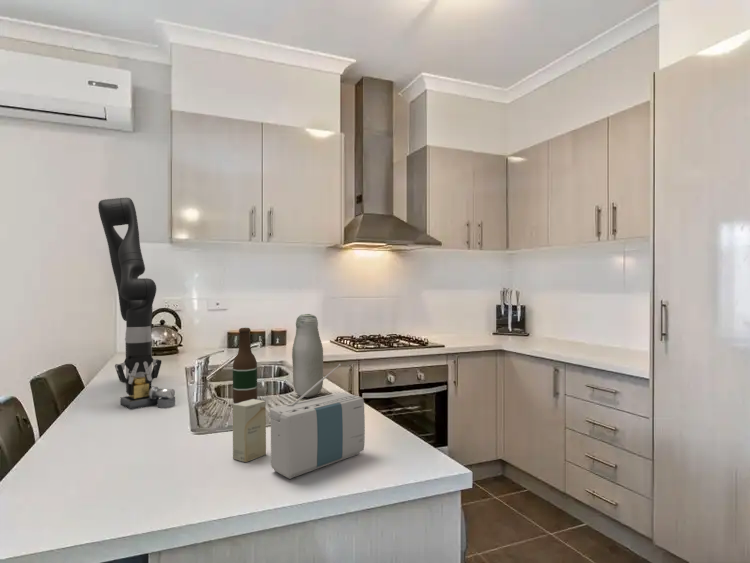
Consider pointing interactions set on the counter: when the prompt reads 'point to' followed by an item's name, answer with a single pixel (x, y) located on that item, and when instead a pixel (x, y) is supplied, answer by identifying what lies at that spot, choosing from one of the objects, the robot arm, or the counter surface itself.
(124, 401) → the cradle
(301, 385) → the grey bottle
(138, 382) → the gold square-based knob
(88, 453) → the counter surface
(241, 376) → the beer bottle
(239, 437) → the skincare box
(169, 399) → the shaft right
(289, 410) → the stereo radio cassette player
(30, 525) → the counter surface
